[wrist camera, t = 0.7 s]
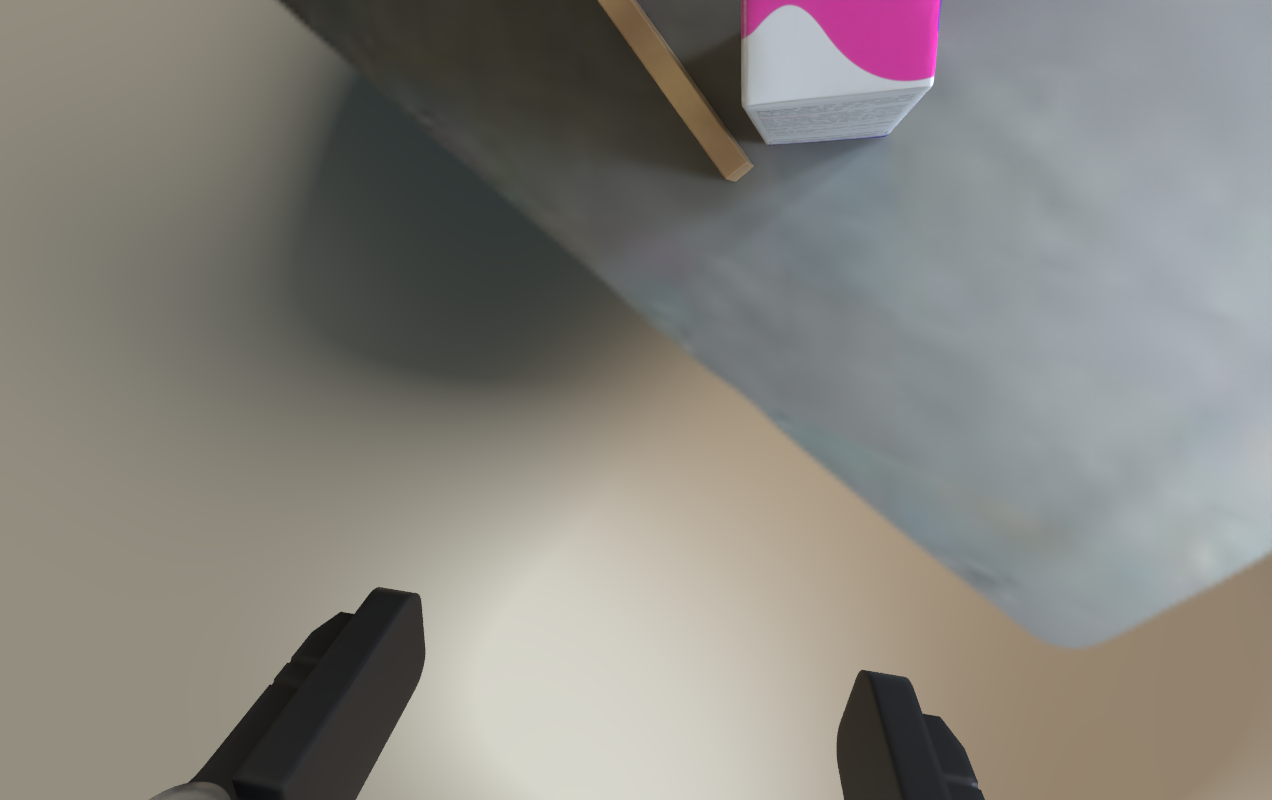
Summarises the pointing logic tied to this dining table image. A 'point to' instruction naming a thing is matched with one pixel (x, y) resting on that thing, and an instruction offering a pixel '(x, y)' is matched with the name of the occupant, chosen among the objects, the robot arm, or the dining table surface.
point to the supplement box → (835, 66)
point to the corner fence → (678, 87)
